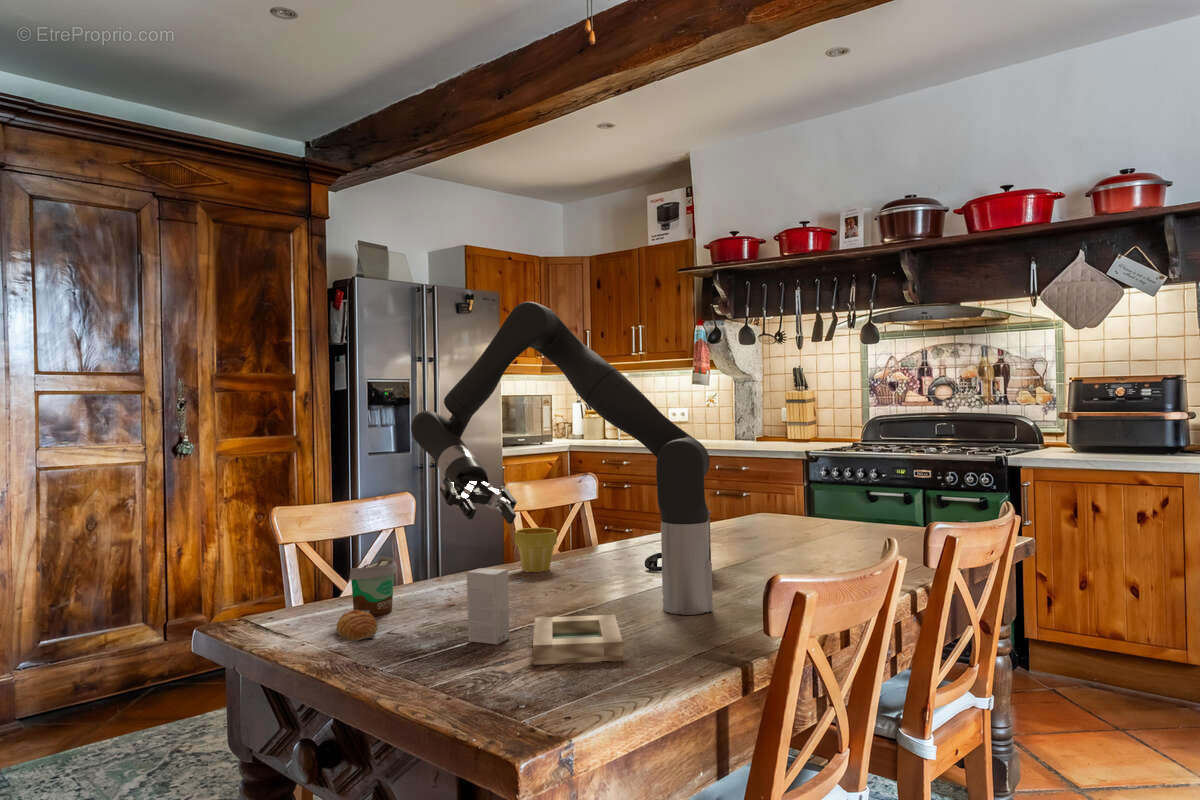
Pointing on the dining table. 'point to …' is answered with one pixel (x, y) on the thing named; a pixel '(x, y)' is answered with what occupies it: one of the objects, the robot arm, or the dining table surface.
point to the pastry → (356, 625)
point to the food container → (374, 587)
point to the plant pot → (535, 548)
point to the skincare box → (488, 605)
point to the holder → (576, 640)
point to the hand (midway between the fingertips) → (492, 517)
